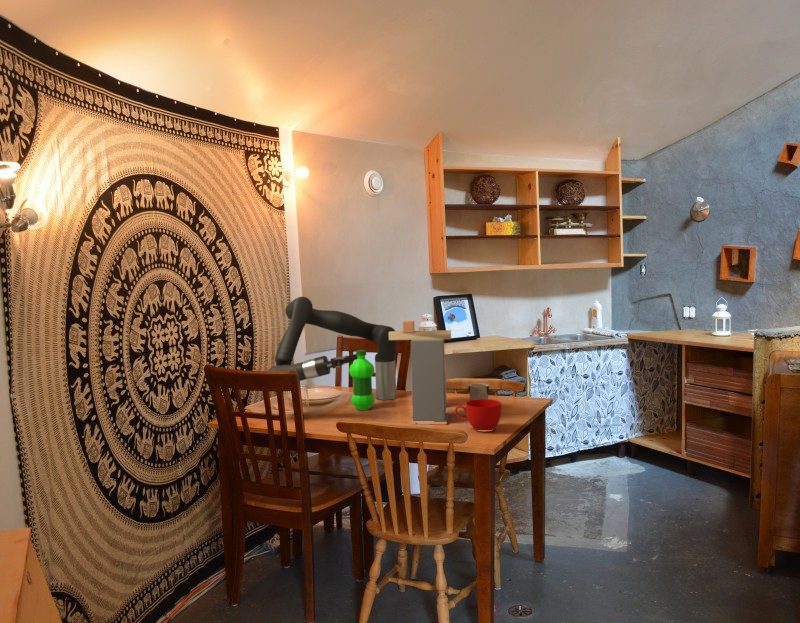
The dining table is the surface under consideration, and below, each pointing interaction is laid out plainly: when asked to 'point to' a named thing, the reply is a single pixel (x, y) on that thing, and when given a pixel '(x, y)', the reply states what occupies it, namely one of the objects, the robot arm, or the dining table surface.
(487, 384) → the coffee mug
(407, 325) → the orange cube
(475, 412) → the ceramic cup
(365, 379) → the plastic bottle
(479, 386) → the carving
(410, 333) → the tan wooden bar
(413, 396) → the stand
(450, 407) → the dining table surface
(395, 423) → the dining table surface
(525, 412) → the dining table surface
